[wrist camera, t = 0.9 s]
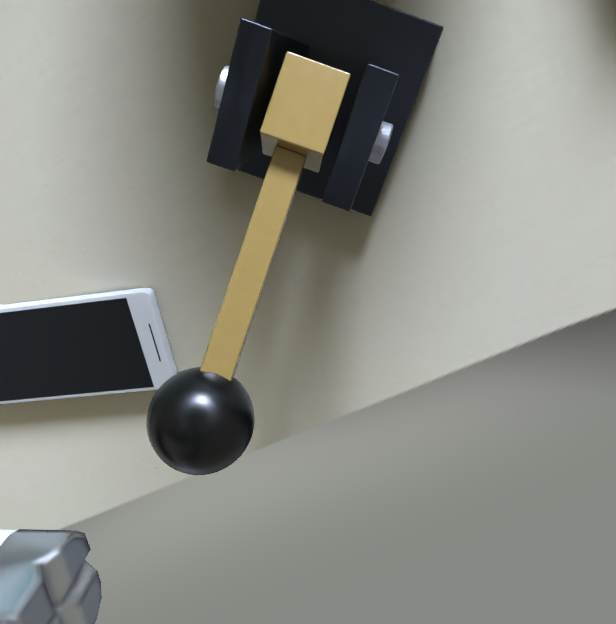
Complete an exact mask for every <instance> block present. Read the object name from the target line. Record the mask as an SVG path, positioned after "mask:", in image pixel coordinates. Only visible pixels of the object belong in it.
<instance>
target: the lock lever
mask: <svg viewBox="0 0 616 624" xmlns="http://www.w3.org/2000/svg"><path fill="white" fill-rule="evenodd" d="M350 76H351V74H350V73H347V72H344V71H342V70H339V69H336V68H333V67H331V66H328V65H325V64H322V63H319V62H317V61H314V60H311V59H308V58H305V57H303V56H300V55H297V54H294V53H291V52H288V51H287V53H286V55H285V58H284V61H283V64H282V67H281V70H280V73H279V76H278V79H277V82H276V85H275V88H274V91H273V94H272V96H271V99H270V102H269V105H268V108H267V111H266V114H265V117H264V120H263V123H262V126H261V129H260V137H261V145H262V153H263V154H266V155H269V156H271V157H272V158H271V161H270V164H269V167H268V170H267V172H266V175H265V178H264V181H263V184H262V187H261V190H260V193H259V196H258V199H257V202H256V205H255V208H254V211H253V214H252V217H251V220H250V223H249V226H248V229H247V232H246V235H245V238H244V241H243V244H242V247H241V250H240V253H239V255H238V258H237V261H236V264H235V267H234V270H233V273H232V276H231V279H230V282H229V285H228V288H227V291H226V294H225V297H224V300H223V303H222V306H221V309H220V312H219V315H218V318H217V321H216V324H215V327H214V330H213V333H212V336H211V339H210V341H209V344H208V347H207V350H206V353H205V356H204V359H203V362H202V365H201V367H197V368H191V369H187V370H184V371H181V372H179V373H177V374H175V375H173V376H172V377H170V378H169V379H168V380H167V381H165V382H164V383H163V384H162V385H161V387H160V388H159V389H158V390H157V392H156V393H155V395H154V397H153V398H152V401H151V403H150V406H149V409H148V414H147V433H148V437H149V440H150V443H151V445H152V447H153V449H154V451H155V452H156V454H157V455H158V456H159V457H160V459H161V460H163V461H164V462H165V463H166V464H167V465H169V466H170V467H172V468H173V469H175V470H177V471H180V472H183V473H187V474H192V475H205V474H211V473H214V472H218V471H220V470H222V469H224V468H226V467H228V466H229V465H231V464H232V463H233V462H234V461H236V460H237V459H238V458H239V457H240V456H241V455H242V453H243V452H244V451H245V449H246V447H247V445H248V444H249V442H250V439H251V437H252V433H253V430H254V409H253V405H252V401H251V399H250V397H249V395H248V393H247V391H246V390H245V388H244V387H243V386H242V384H241V383H240V382H239V381H238V380H237V379H235V378H234V375H235V372H236V369H237V366H238V363H239V360H240V357H241V354H242V351H243V348H244V345H245V342H246V339H247V336H248V333H249V330H250V327H251V324H252V321H253V318H254V315H255V312H256V309H257V306H258V303H259V300H260V297H261V294H262V291H263V288H264V285H265V282H266V279H267V277H268V274H269V271H270V268H271V265H272V262H273V259H274V256H275V253H276V250H277V247H278V244H279V241H280V238H281V235H282V232H283V229H284V226H285V223H286V220H287V217H288V214H289V211H290V208H291V205H292V202H293V199H294V196H295V193H296V190H297V187H298V184H299V181H300V178H301V175H302V172H303V170H304V168H306V169H309V170H312V171H314V172H317V173H318V172H320V169H321V166H322V163H323V160H324V157H325V154H326V151H327V148H328V145H329V142H330V139H331V136H332V133H333V130H334V127H335V125H336V122H337V119H338V116H339V113H340V110H341V107H342V104H343V100H344V97H345V94H346V90H347V87H348V83H349V80H350Z"/></svg>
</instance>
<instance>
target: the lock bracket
mask: <svg viewBox="0 0 616 624" xmlns="http://www.w3.org/2000/svg"><path fill="white" fill-rule="evenodd" d="M442 30H443V26H440V25H437V24H435V23H432V22H429V21H426V20H424V19H421V18H418V17H416V16H413V15H410V14H407V13H405V12H402V11H399V10H396V9H394V8H391V7H388V6H385V5H383V4H380V3H377V2H374V1H372V0H260V4H259V8H258V12H257V16H256V20H255V22H252V21H249V20H247V19H244V18H241V19H240V23H239V27H238V31H237V36H236V40H235V44H234V48H233V52H232V57H231V61H230V65H229V66H225V67H224V68H223V70H222V71H221V73H220V76H219V79H218V82H217V85H216V90H215V97H214V104H215V107H217V108H219V111H218V115H217V120H216V124H215V128H214V132H213V136H212V141H211V145H210V149H209V153H208V157H207V162H209V163H211V164H214V165H217V166H220V167H223V168H226V169H229V170H232V171H236V170H239V171H242V172H245V173H248V174H250V175H253V176H256V177H259V178H262V179H264V178H265V175H266V172H267V170H268V167H269V164H270V161H271V158H272V157H271V156H269V155H266V154H263V153H262V145H261V137H260V129H261V126H262V123H263V120H264V117H265V114H266V111H267V108H268V105H269V102H270V99H271V96H272V94H273V91H274V88H275V85H276V82H277V79H278V76H279V73H280V70H281V67H282V64H283V61H284V58H285V55H286V53H287V51H288V52H291V53H294V54H297V55H300V56H303V57H305V58H308V59H311V60H314V61H317V62H319V63H322V64H325V65H328V66H331V67H333V68H336V69H339V70H342V71H344V72H347V73H350V74H351V76H350V80H349V83H348V87H347V90H346V94H345V97H344V100H343V104H342V107H341V110H340V113H339V116H338V119H337V122H336V125H335V127H334V130H333V133H332V136H331V139H330V142H329V145H328V148H327V151H326V154H325V157H324V160H323V163H322V166H321V169H320V172H318V173H317V172H314V171H312V170H309V169H306V168H304V170H303V172H302V175H301V178H300V181H299V184H298V187H297V191H300V192H302V193H305V194H308V195H311V196H314V197H317V198H320V199H322V202H324V203H327V204H330V205H333V206H336V207H339V208H342V209H344V210H347V211H350V209H352V210H354V211H357V212H360V213H363V214H366V215H369V216H372V213H373V211H374V208H375V206H376V203H377V200H378V198H379V195H380V193H381V190H382V187H383V185H384V182H385V179H386V177H387V174H388V172H389V169H390V166H391V164H392V161H393V159H394V156H395V153H396V151H397V148H398V145H399V143H400V140H401V138H402V135H403V132H404V130H405V127H406V125H407V122H408V119H409V117H410V114H411V111H412V109H413V106H414V104H415V101H416V98H417V96H418V93H419V91H420V88H421V85H422V83H423V80H424V78H425V75H426V72H427V70H428V67H429V64H430V62H431V59H432V57H433V54H434V51H435V49H436V46H437V44H438V41H439V38H440V36H441V33H442Z"/></svg>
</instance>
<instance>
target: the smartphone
mask: <svg viewBox="0 0 616 624" xmlns="http://www.w3.org/2000/svg"><path fill="white" fill-rule="evenodd" d="M175 374H177V369H176V366H175V363H174V359H173V356H172V352H171V349H170V345H169V342H168V339H167V335H166V332H165V328H164V325H163V321H162V318H161V314H160V311H159V308H158V304H157V301H156V297H155V294H154V291H153V290H152V289H150V288H137V289H129V290H121V291H113V292H105V293H97V294H88V295H80V296H72V297H64V298H56V299H48V300H40V301H31V302H23V303H15V304H7V305H0V404H8V403H19V402H30V401H41V400H52V399H62V398H73V397H84V396H95V395H106V394H116V393H127V392H138V391H149V390H158V389H159V388H160V387H161V385H162V384H163V383H164V382H165V381H167V380H168V379H169V378H170V377H172V376H173V375H175Z"/></svg>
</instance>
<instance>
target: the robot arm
mask: <svg viewBox="0 0 616 624" xmlns="http://www.w3.org/2000/svg"><path fill="white" fill-rule="evenodd" d="M89 551H90V547H89V544H88V541H87V538H86V536H85V533H82V532H78V531H65V530H62V531H61V530H23V529H19V530H0V624H95V622H96V620H97V616H98V612H99V607H100V603H101V598H102V597H101V581H100V578H99V575H98V571H97V570H96V569H95V568H93V567H92V566H91V565H90V564H89V563H88V562H87V561H85V558H86V557H87V555H88V553H89Z"/></svg>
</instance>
